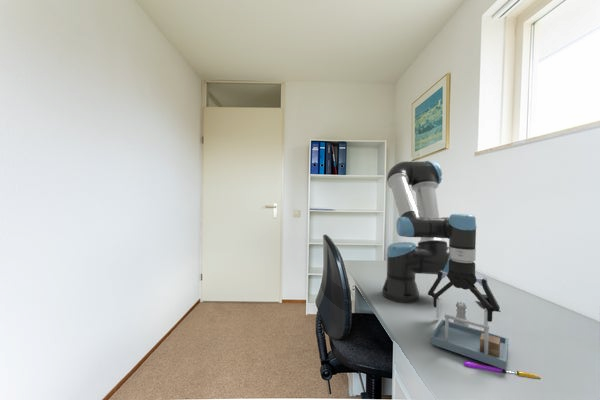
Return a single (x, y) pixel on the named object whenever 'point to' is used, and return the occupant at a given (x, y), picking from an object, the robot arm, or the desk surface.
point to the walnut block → (491, 345)
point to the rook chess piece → (461, 313)
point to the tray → (468, 341)
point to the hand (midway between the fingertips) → (460, 323)
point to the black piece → (487, 300)
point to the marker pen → (497, 369)
